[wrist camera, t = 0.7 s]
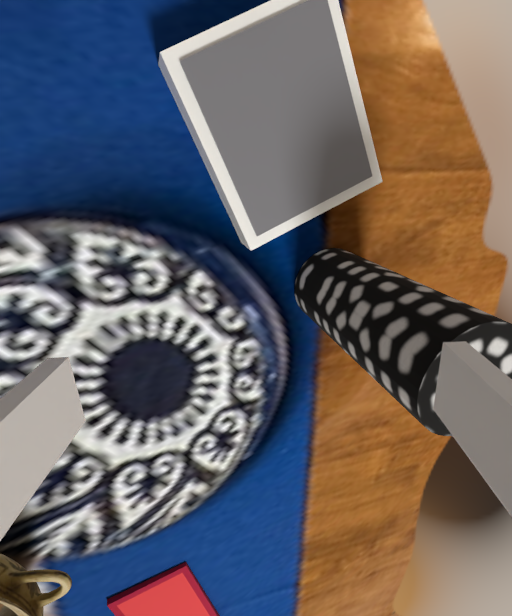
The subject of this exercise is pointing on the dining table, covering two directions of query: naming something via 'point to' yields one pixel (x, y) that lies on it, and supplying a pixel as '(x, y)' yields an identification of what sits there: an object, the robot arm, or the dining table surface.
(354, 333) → the spotted tube
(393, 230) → the dining table surface
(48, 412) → the robot arm
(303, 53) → the tray
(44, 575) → the ceramic bowl
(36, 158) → the dining table surface
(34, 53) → the dining table surface
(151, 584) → the red board with handle
